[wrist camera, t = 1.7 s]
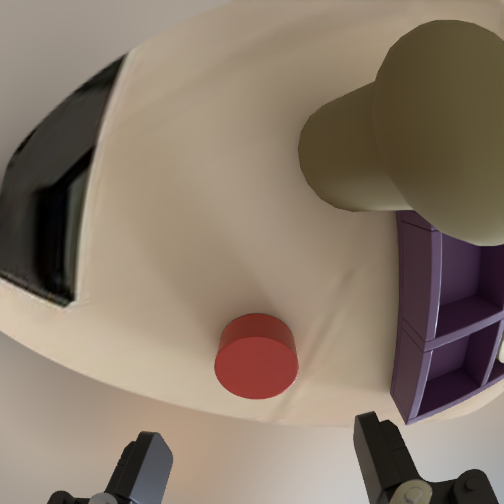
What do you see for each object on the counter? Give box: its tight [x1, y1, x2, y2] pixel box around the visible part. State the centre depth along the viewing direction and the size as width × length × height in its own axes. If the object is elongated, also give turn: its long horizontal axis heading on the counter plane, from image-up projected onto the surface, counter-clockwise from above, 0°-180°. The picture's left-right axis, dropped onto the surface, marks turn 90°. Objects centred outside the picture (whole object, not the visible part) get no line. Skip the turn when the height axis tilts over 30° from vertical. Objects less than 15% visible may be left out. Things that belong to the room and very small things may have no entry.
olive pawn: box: [298, 20, 504, 246], centre depth 8 cm, size 6×6×11 cm
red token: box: [214, 314, 299, 399], centre depth 15 cm, size 4×4×2 cm
